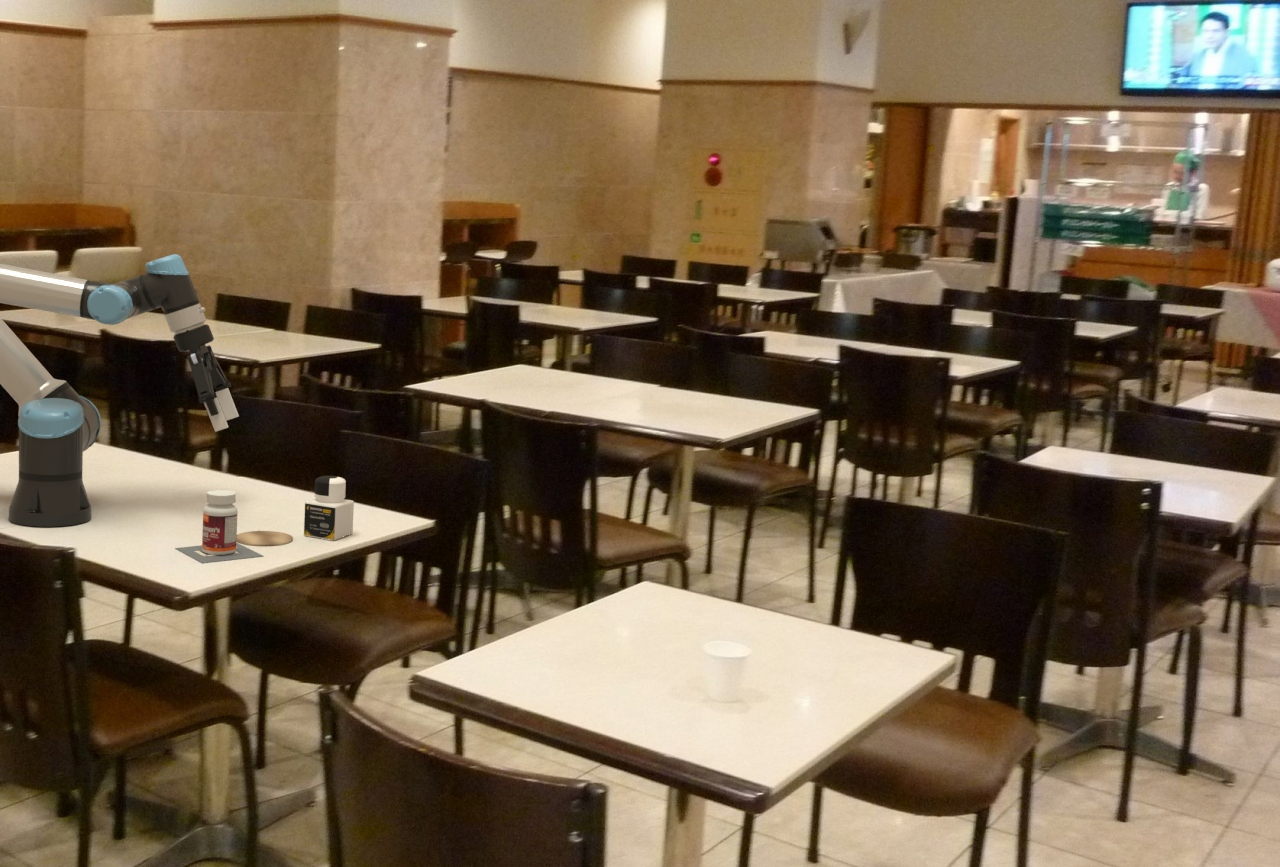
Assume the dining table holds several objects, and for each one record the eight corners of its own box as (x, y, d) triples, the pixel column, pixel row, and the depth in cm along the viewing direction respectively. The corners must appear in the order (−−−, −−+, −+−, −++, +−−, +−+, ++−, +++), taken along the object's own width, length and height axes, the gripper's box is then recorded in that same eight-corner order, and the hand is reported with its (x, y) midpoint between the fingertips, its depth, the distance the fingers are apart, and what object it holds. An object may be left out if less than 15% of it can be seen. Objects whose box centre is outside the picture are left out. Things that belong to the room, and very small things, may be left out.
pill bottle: (194, 552, 256) (196, 492, 254) (216, 546, 262) (218, 487, 260) (222, 557, 254) (223, 497, 252) (243, 551, 260) (245, 492, 258)
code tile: (202, 564, 250) (202, 562, 249) (174, 549, 258) (175, 547, 258) (263, 557, 257) (263, 555, 257) (235, 543, 266) (235, 541, 266)
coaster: (250, 548, 263) (250, 546, 263) (225, 536, 271) (225, 534, 271) (302, 542, 270) (302, 540, 270) (276, 530, 278) (276, 528, 278)
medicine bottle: (303, 536, 275) (305, 477, 273) (322, 529, 282) (325, 472, 280) (333, 541, 273) (336, 482, 271) (353, 534, 280) (355, 476, 278)
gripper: (196, 329, 273) (234, 428, 278) (217, 317, 298) (253, 408, 302) (159, 341, 273) (199, 440, 277) (184, 328, 297) (220, 419, 302)
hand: (227, 423), depth 290 cm, fingers open, 13 cm apart
